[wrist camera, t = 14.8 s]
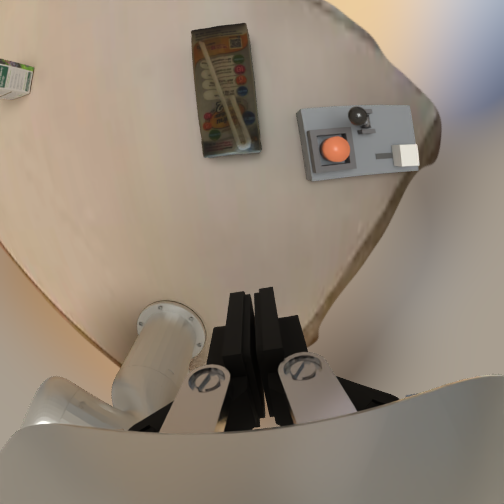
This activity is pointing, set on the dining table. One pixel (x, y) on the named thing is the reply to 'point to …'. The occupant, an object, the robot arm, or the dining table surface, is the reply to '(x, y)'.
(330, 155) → the button
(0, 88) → the syrup box
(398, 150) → the slider
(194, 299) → the dining table surface
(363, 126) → the lever
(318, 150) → the panel
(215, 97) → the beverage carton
